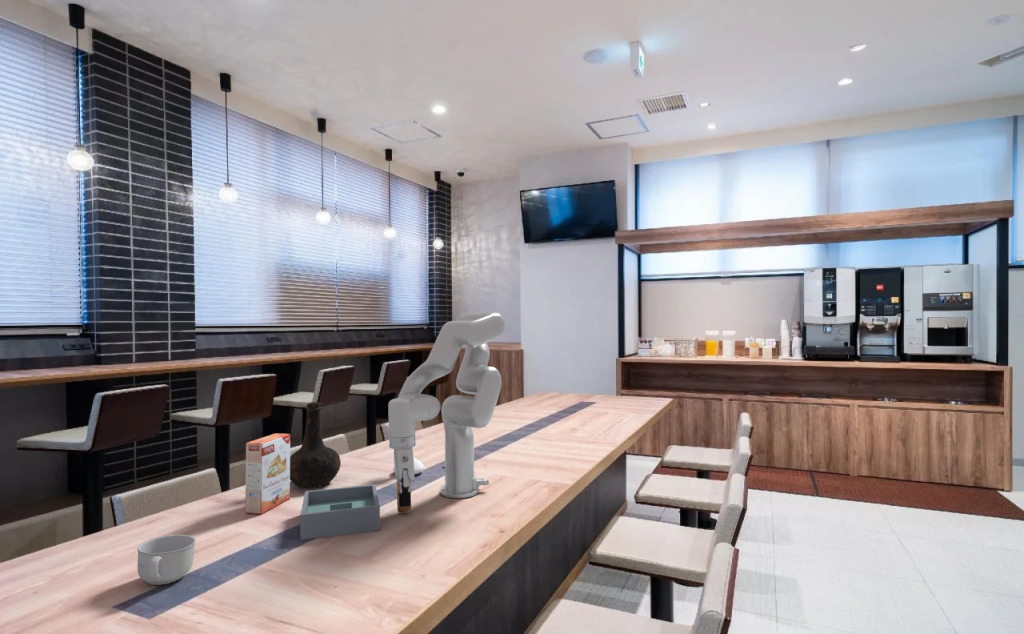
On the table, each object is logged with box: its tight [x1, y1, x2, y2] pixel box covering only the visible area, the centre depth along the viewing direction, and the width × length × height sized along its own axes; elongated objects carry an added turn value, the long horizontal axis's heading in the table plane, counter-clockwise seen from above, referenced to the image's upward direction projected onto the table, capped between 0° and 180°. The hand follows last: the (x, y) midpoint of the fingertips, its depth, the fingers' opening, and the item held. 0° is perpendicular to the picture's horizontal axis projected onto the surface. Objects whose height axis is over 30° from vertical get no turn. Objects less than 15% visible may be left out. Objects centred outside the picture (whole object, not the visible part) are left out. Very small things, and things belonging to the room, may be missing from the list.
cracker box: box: [245, 433, 291, 515], centre depth 165 cm, size 14×6×21 cm, turn 168°
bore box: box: [299, 484, 381, 541], centre depth 152 cm, size 20×20×6 cm
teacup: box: [137, 534, 196, 586], centre depth 118 cm, size 14×11×8 cm
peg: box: [396, 478, 412, 513], centre depth 158 cm, size 4×4×10 cm
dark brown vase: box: [290, 401, 342, 489], centre depth 186 cm, size 18×18×28 cm
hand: (404, 502), depth 158 cm, fingers closed on peg, 4 cm apart
